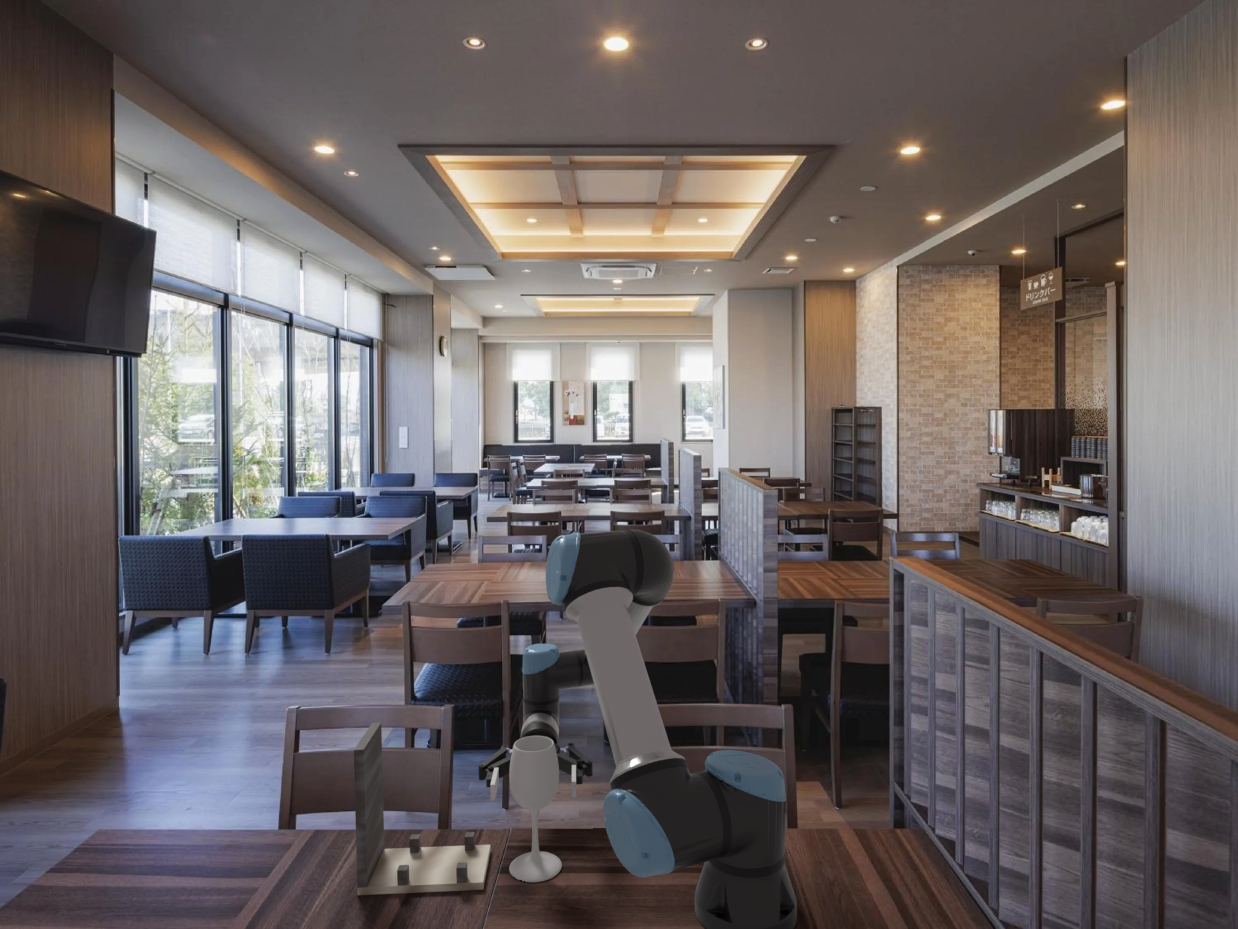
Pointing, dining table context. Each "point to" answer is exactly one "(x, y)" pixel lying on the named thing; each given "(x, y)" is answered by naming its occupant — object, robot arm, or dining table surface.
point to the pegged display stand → (416, 863)
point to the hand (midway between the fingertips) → (533, 791)
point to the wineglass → (534, 801)
